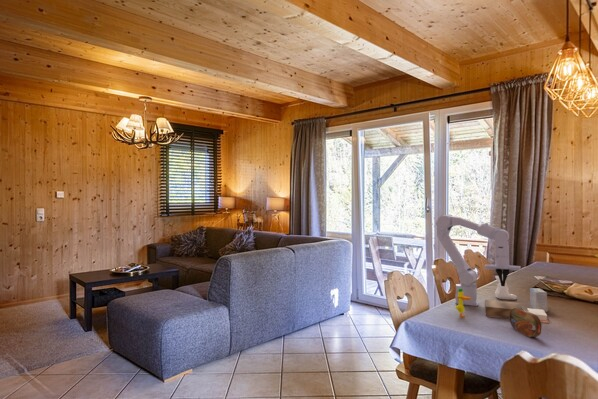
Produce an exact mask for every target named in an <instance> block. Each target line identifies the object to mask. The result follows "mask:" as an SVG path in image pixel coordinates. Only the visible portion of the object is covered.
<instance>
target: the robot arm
mask: <svg viewBox="0 0 598 399" xmlns="http://www.w3.org/2000/svg"><path fill="white" fill-rule="evenodd" d="M435 225H436V236H437V238H438V240H439V242H440V243H441V246H442V247H443V248H444V250H445V252H446V253H447V255H448V256H449V258H450V259H451V261H452V263H453V264H454V267H456V274H457V276H458V278H459V282H460V283H456V284H455V295H454V297H455V305H458V304H459V300H458V298H457V297H458V291H459V288H462V291H463V296H467V297H470V298H471V299H470V300H463V306H465V305H466V306H474V307H477V306H478V298H477V297H478V292H477V290H478V288H477V287H478V286H477V285H478V284H477V283H476V281H477V280H478V273H477V272H476V271H475V270H474V269H472V267H471V266H470V265H469V264H468V263H467V262H466V260H465V259H464V258H463V255H462V254H461V253H460V252H461V251H459V249H458V247H457V246H456V244H455V243H454V241H453V240H452V238H451V237H450V232H451V230H452V228H453V227H456V226H460V227H464V228H467V229H469V230H472V231H476V233H477V235H479V236H481V237H484V238H488V239H490V240H494V263H495V264H484V270H493V271H494V270H495V272H496V275H497V276H499V279H500V282H501V286H505V281H506V282H507V278H508V276H509V275H510V271H518V272H521V271H522V269H521V268H522V267H521V265H510V247H509V245H510V244H509V239H510V233H509V231H508V230H505V229H504V228H500V227H498V226H492V225H490V224H489V223H488V222H485V223H483V222H482V223H480V224H479V223H475V222H474V221H471V220H468V219H466V218H463V217H461V216H457V215H452V214H445V215H443V214H442V215H440V216H439V217H438V218H437V220H436V223H435ZM502 274H503V280H502Z"/></svg>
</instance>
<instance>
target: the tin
mask: <svg viewBox="0 0 598 399" xmlns="http://www.w3.org/2000/svg"><path fill="white" fill-rule="evenodd" d="M509 317H510V318H509V323H510V326H511V327H512V328H513V330H515V331H517V332H519V333H520V334H522V335H524V336H526V337H529V338H537V337H539V336H540V335H541V334H542V323H541V321H540V319H539V318H538V316H537V315H535V314H533V313H530V312H528V311H527V310H525V309H524V308H522V309H517V308H514V309H512V310H511V312H510V316H509Z"/></svg>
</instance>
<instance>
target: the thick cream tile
mask: <svg viewBox="0 0 598 399" xmlns="http://www.w3.org/2000/svg"><path fill="white" fill-rule="evenodd" d="M526 311H528V312H530V313H533V314H535V315H537V316H538V318H539V319H540V320H548V315H547V312H545V311H544V310H542V309H533V308H532V307H529V308H528V307H527V310H526Z"/></svg>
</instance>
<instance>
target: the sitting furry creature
mask: <svg viewBox="0 0 598 399" xmlns="http://www.w3.org/2000/svg"><path fill="white" fill-rule="evenodd" d="M495 279H496V281H497V282H498V284H497V285H496V289H495V292H494V296H495V297H496V298H497V299H500V300H508V301H509V300H513V301H516V300H517V299H518V296H517V295H515V294H514V293H513V294H512V293H510V292H509V289H510V288H509V286H508V284H507V280H506V281H505V286H501V282H500V279H499V276H498V275H495ZM502 280H503V273H502Z"/></svg>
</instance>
